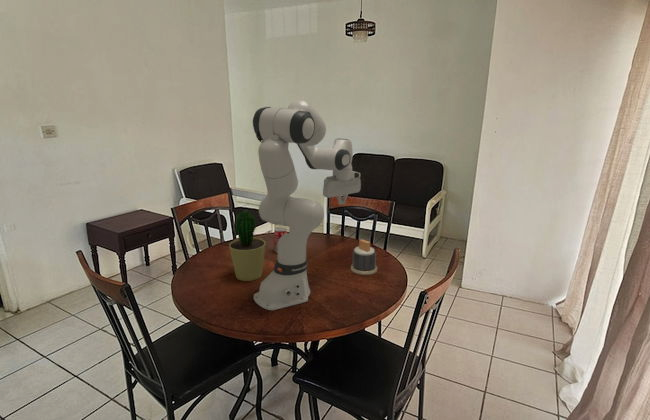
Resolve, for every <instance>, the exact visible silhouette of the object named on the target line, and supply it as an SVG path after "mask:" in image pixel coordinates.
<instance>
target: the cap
mask: <svg viewBox="0 0 650 420" xmlns="http://www.w3.org/2000/svg"><path fill="white" fill-rule="evenodd" d="M358 241H359V242H358V244H359V245H358V246H356V247H355V248H354V250H353V251H354V252H355V253H356V254H357V255H361V256H370V255H373V254H374V251H375V252H376V250H375V248H374V247H372V246H371V241H368V240H365V239H359V240H358Z"/></svg>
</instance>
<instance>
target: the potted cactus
mask: <svg viewBox="0 0 650 420" xmlns="http://www.w3.org/2000/svg"><path fill="white" fill-rule="evenodd" d="M235 219H236V220H234V221H235V222H236V228H235V233H237V237H238V239H235V240H233V241H231V242H229V244H228V246H229V252H230V256H231V260H232V261H231V262H232V265H233V269H234V273H235V277H236V279H237V280H240V281H243V282H251V281H256V280H258V279H260V278H261V277H262V276H263V271H264V261H265V260H264V259H265V251H266V244H267V243H266V241H265V240H264V239H262V238H258V237H255V236H256V234H255V230H256V229H257V227H256V226H257V224H256V223H257V222H258V220H256V217H255V216H254V215H253V212H252V213H251V212H250V210H246V209H245V210H242V211H241V212H239V213H237V216H236V217H235Z"/></svg>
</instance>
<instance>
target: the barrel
mask: <svg viewBox="0 0 650 420" xmlns="http://www.w3.org/2000/svg"><path fill="white" fill-rule="evenodd" d="M376 263H377V251H376V250H375V251H374V254H373V255H370V256H361V255H357V254H356V253H355V252H354V250H353V251H352V263H351V265H350V271H351V273H354V274H355V275H361V276H371V275H375V274H376V273H377V272H378V266H377V264H376Z"/></svg>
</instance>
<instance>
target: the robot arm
mask: <svg viewBox="0 0 650 420" xmlns="http://www.w3.org/2000/svg"><path fill="white" fill-rule="evenodd" d="M252 127H253V130H254V131H253V132H254V133H255V136H256V139H257V141H259V142H260V144H259V146H258V150H257V151H258V161H259V165H260V170H261V173H262V175H263V180H264V182H265V186H266V189H267V190H266V191H267V192H266V196H265V197H263V199H262V200H261V201H260V202H259V205H258V213H259V217H260V219H261V220H262V221H264V222H265V223H266V222H267V223H269V224H272V225H276V226H283V227H284V226H285V227H289V230H288V231H289V232H287V234H286V235H284V236H282V237H281V238H280V239H279V240H278V243H277V252H276V253H277V254H276V255H277V258H276V261H275V263H274V262H273V261H270V262H268V267H269V268H271V269H273V270H272V271H271V272H270V273H269V274H268V275H267V276H266V277H265V278H264V279H263V280H262V281H261V282H260V285H259V290H258V292H256V293H254V294H253V301H254V302H255V304H257V305H258V306H259V307H261V308H263V309H265V310H266V311H267V310H268V311H276V310H279V309H280V310H281V309H285V308H288V307H292V306H296V305H300V304H303V303H306V302H308V301H309V296H310V295H311V289H310V285H309V281H308V275H307V274H308V273H307V271H308V270H307V269H308V259H307V242H308V238H309V236H310V234H311V233H312V232H313V231H314V230H315V229H317V228H319V227H320V225H322V222H323V221H324V217H325V212H324V211H325V210H324V207H323V206H322V204H321V203H320V202H319V201H315V200H312V199H309V198H301V197H294V196H292V194H293V193H295V192H296V191H297V189H298V185H299V180H298V177H297V171H296V169H295V164H294V162H293V161H294V160H293V158H292V154H291V152H290V150H289V144H296V145H297V147H298V149H299V150H300V152H301V154H302V155H303V158H304V160H305V163H306V165H307V166H308V168H309V169H311V170H325V171H332V175H331V176H327V177H325V178H324V180H323V187H322V196H323V197H324V198H335V197H336V199H337V201H338V202H337V203H338V205H345V204H346V201H347V199H348V196H349V195H351V194H355V193H359V192H360V191H361V187H362V183H361V181H362V180H361V172H358V171H354V170H353V166H352V162H353V144H352V141H351V140H350V139H347V138H335V139H334V141H333V146H332V147H326V146H324V147H323V146H316V145H318V144H319V143H320V142H321V141H323V139H324V138H325V136H326V133H327V127H326V124H325V121H324V119H323V118H322V117H321V115H320V113H319V112H318V111H317V110H316V109H315V107H313V106H312V105H311V104H310V103H309V102H307V101H306V100H302V99H296V100H295V101H292V102H291V103H290V104H289V105H288V107H280V106H279V107H275V106H274V107H273V106H272V107H271V106H264V107H260V108H258V109H257V110H256V111H255V113H254V115H253V118H252Z"/></svg>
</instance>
